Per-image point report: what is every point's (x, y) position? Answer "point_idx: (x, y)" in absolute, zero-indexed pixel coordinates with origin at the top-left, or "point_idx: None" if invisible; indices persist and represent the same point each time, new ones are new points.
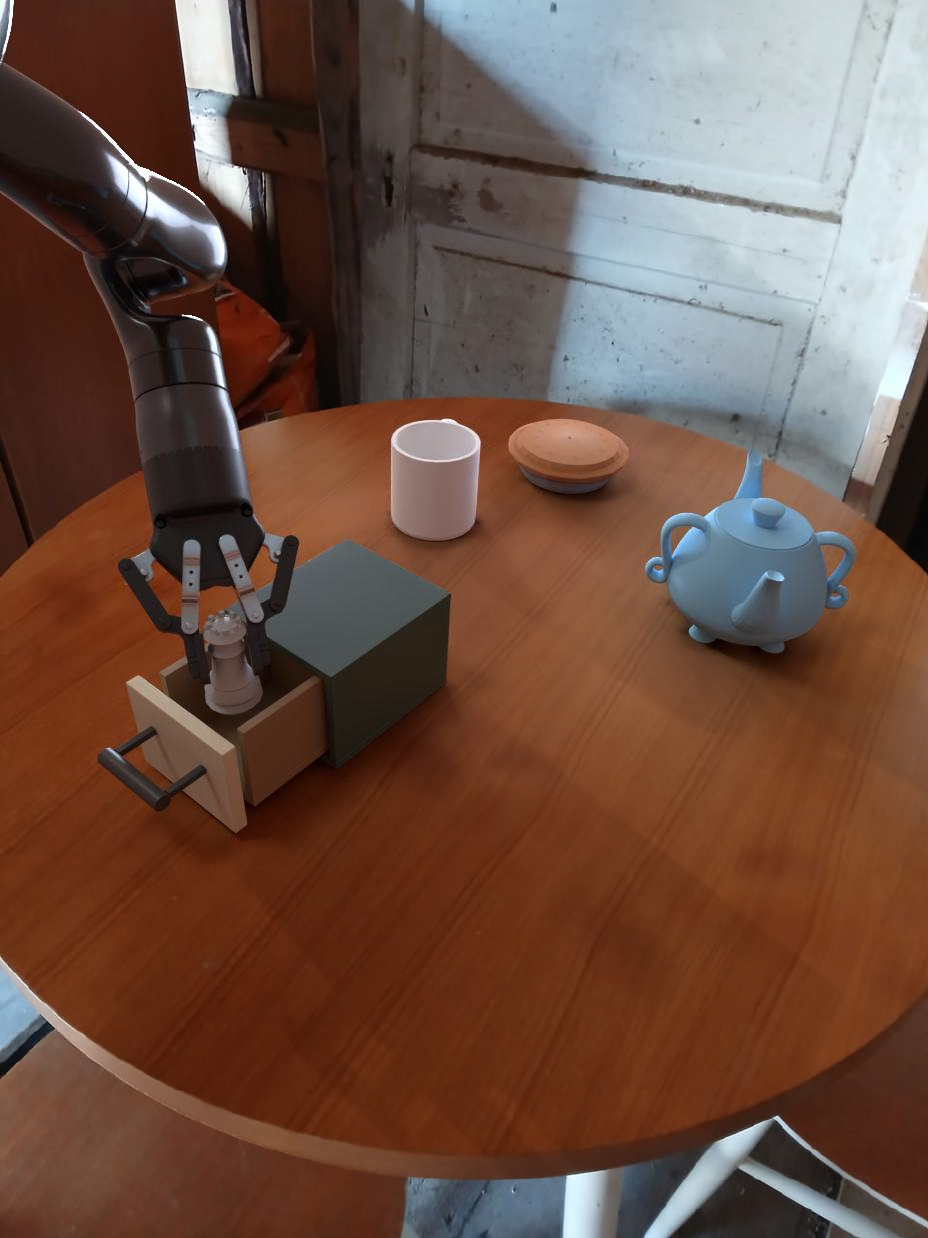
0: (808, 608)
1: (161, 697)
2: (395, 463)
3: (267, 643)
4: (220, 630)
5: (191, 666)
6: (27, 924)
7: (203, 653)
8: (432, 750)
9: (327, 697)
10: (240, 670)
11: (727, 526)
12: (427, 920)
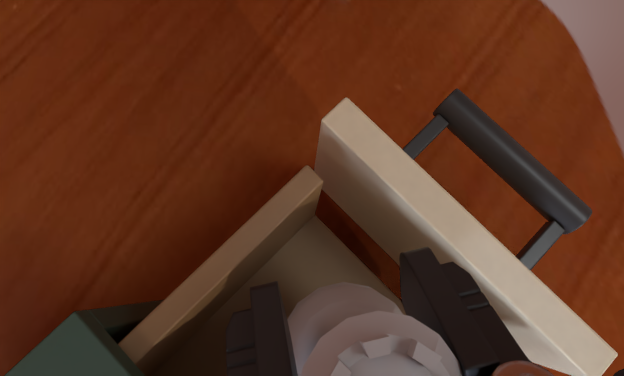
0: None
1: (516, 291)
2: None
3: (228, 371)
4: (396, 364)
5: (468, 286)
6: (568, 67)
7: (441, 310)
8: (3, 334)
9: (121, 318)
10: (324, 331)
11: None
12: (75, 28)
